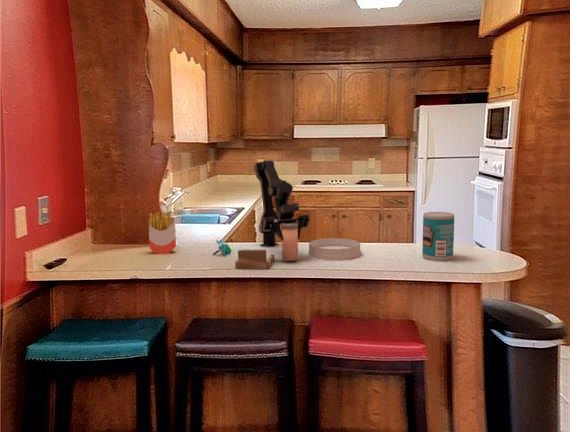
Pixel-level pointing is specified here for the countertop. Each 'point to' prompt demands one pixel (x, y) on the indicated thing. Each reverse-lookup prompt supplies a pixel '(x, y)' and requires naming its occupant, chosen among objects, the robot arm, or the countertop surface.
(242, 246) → the countertop surface
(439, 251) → the food can
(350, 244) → the dish
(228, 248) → the stick construction toy
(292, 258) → the jar
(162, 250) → the french fries container
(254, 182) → the countertop surface
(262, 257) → the brown wooden frame
